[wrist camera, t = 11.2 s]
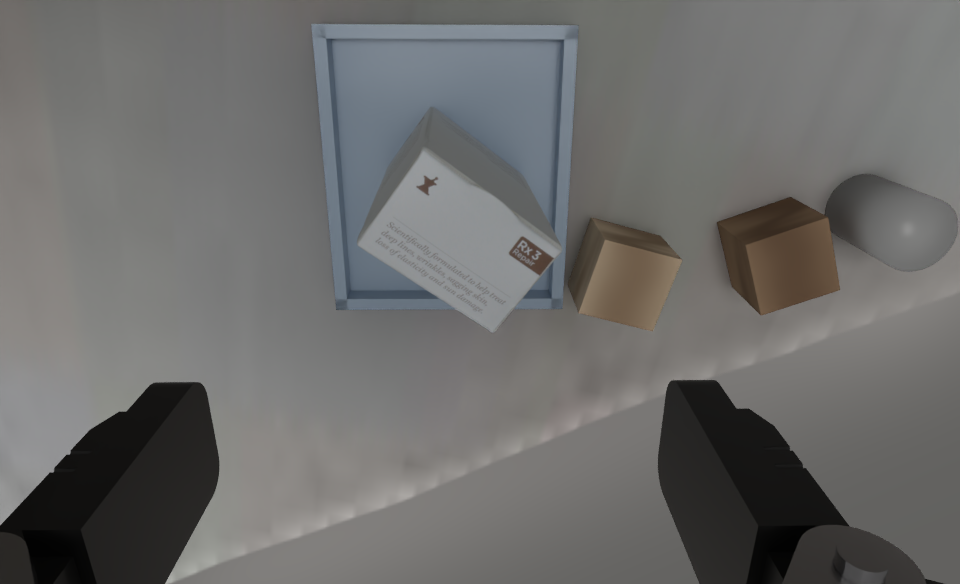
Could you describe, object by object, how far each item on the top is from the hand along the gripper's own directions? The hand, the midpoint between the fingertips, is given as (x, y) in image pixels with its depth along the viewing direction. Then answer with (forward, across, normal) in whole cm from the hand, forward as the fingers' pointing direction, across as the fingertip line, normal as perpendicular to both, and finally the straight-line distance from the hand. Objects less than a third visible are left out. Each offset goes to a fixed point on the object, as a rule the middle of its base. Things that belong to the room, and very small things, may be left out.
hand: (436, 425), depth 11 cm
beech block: (+24, -8, +6) cm, 26 cm away
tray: (+24, +1, +1) cm, 24 cm away
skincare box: (+23, 0, 0) cm, 23 cm away
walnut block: (+24, -16, +5) cm, 30 cm away
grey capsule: (+24, -21, +3) cm, 32 cm away
